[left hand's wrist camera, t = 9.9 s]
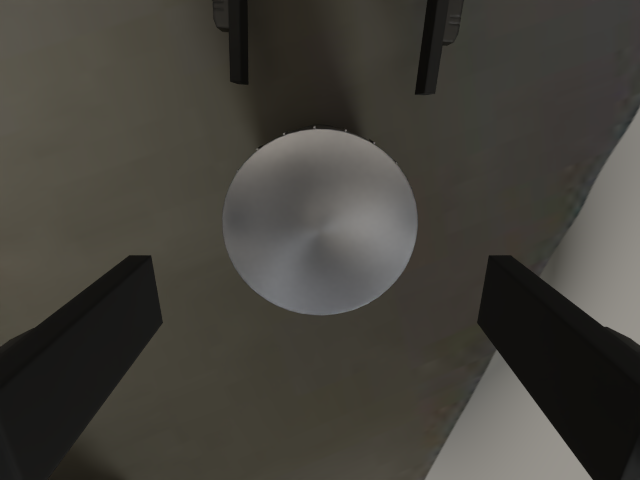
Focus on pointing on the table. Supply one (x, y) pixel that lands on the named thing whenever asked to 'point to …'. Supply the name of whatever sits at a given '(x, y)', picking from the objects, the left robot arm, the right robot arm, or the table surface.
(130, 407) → the table surface
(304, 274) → the lid
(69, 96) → the table surface
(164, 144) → the table surface
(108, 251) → the table surface
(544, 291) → the left robot arm
